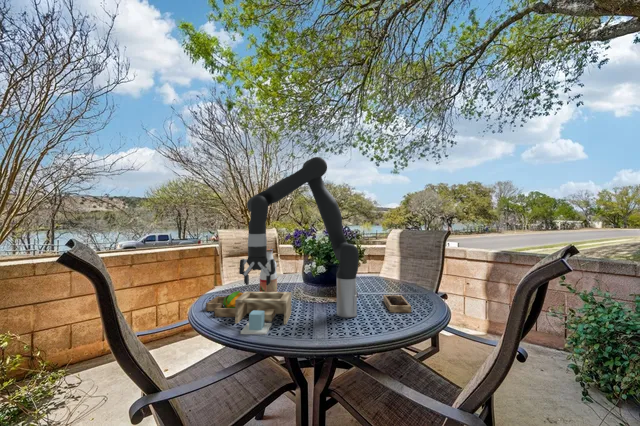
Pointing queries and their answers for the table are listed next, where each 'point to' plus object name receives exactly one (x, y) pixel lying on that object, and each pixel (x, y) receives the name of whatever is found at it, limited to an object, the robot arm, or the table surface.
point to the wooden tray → (397, 307)
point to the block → (256, 320)
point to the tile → (259, 332)
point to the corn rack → (220, 307)
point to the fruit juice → (273, 284)
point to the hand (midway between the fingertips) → (257, 284)
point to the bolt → (396, 301)
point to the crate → (264, 304)
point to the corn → (231, 299)
